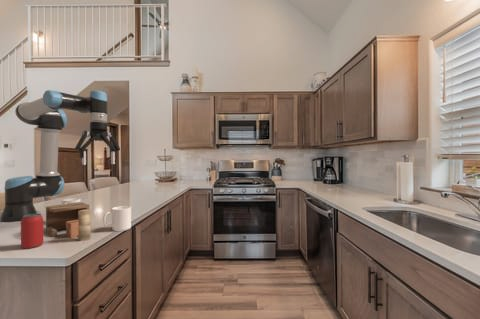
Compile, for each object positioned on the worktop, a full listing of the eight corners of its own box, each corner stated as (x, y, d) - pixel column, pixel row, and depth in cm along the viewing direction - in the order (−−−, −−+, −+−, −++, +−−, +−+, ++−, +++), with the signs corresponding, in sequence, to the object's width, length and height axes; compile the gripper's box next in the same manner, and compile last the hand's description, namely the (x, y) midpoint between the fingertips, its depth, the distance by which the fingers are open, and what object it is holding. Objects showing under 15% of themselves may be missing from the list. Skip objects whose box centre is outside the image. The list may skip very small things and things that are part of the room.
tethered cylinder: (66, 235, 107) (66, 208, 107) (81, 232, 112) (81, 205, 111) (78, 242, 98) (78, 212, 98) (94, 238, 103) (94, 210, 103)
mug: (67, 226, 121) (67, 202, 121) (51, 225, 122) (51, 202, 122) (84, 220, 133) (84, 198, 133) (70, 219, 134) (70, 198, 134)
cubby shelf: (46, 231, 112) (45, 206, 112) (80, 225, 123) (80, 202, 123) (53, 236, 105) (53, 209, 105) (89, 229, 116) (89, 204, 116)
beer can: (29, 243, 97) (29, 213, 97) (47, 242, 98) (47, 212, 97) (16, 249, 90) (15, 217, 90) (35, 249, 91) (34, 216, 91)
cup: (133, 229, 116) (133, 208, 116) (104, 234, 108) (104, 211, 108) (128, 225, 122) (128, 205, 122) (101, 229, 115) (101, 208, 115)
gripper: (72, 118, 111) (73, 165, 111) (126, 124, 130) (126, 163, 130) (67, 120, 115) (67, 164, 115) (120, 125, 135) (120, 163, 135)
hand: (99, 164), depth 123 cm, fingers open, 13 cm apart
